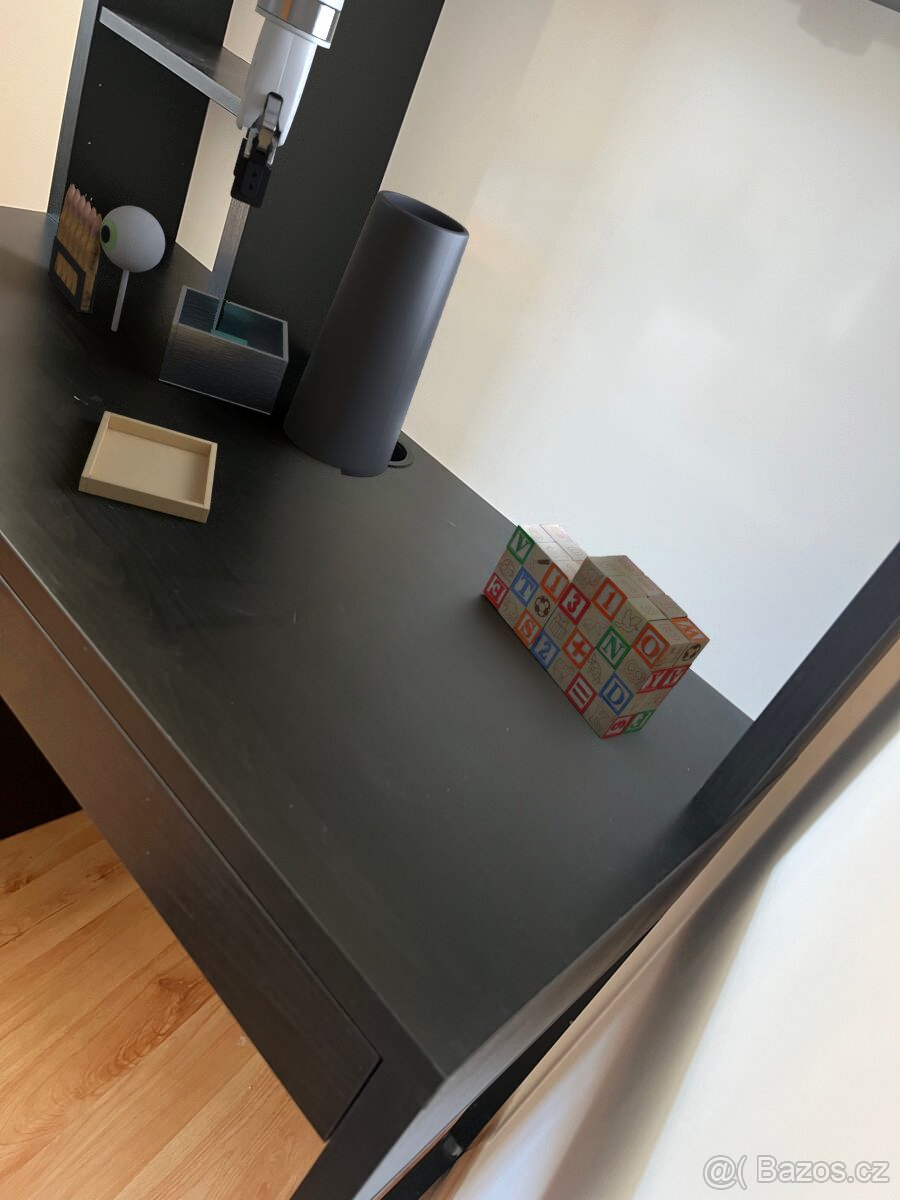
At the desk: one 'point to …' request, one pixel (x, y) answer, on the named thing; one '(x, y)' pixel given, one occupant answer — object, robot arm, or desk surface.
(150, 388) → the desk surface
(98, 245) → the ammunition clip
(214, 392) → the dark open-top crate
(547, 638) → the stack of blocks
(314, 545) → the desk surface
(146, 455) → the shallow wooden tray
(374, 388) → the vase
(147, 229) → the lollipop
